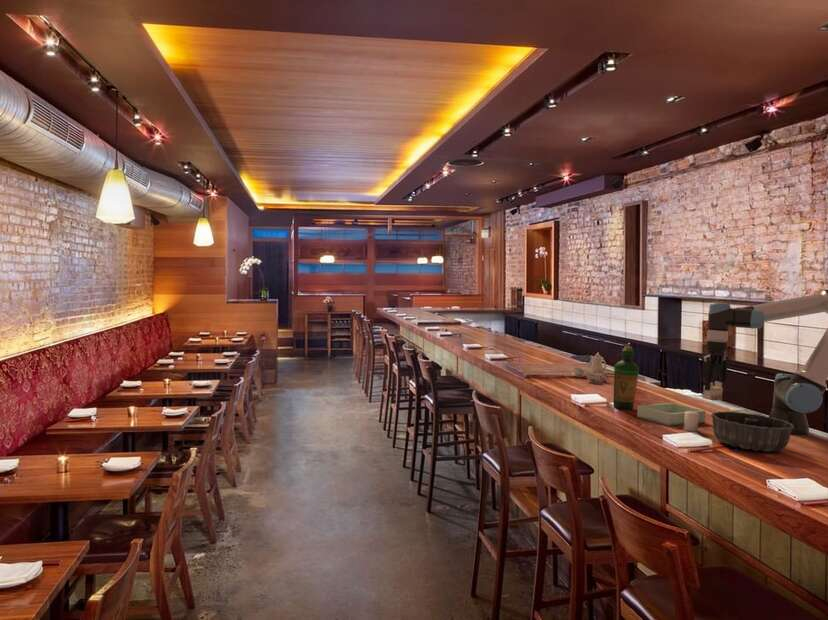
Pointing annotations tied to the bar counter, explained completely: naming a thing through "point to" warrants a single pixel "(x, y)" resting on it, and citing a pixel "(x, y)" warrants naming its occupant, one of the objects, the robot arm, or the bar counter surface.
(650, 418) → the tote
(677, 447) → the bar counter surface
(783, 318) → the robot arm
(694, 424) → the cylinder
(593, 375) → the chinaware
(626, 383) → the bottle
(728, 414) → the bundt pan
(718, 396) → the cube
